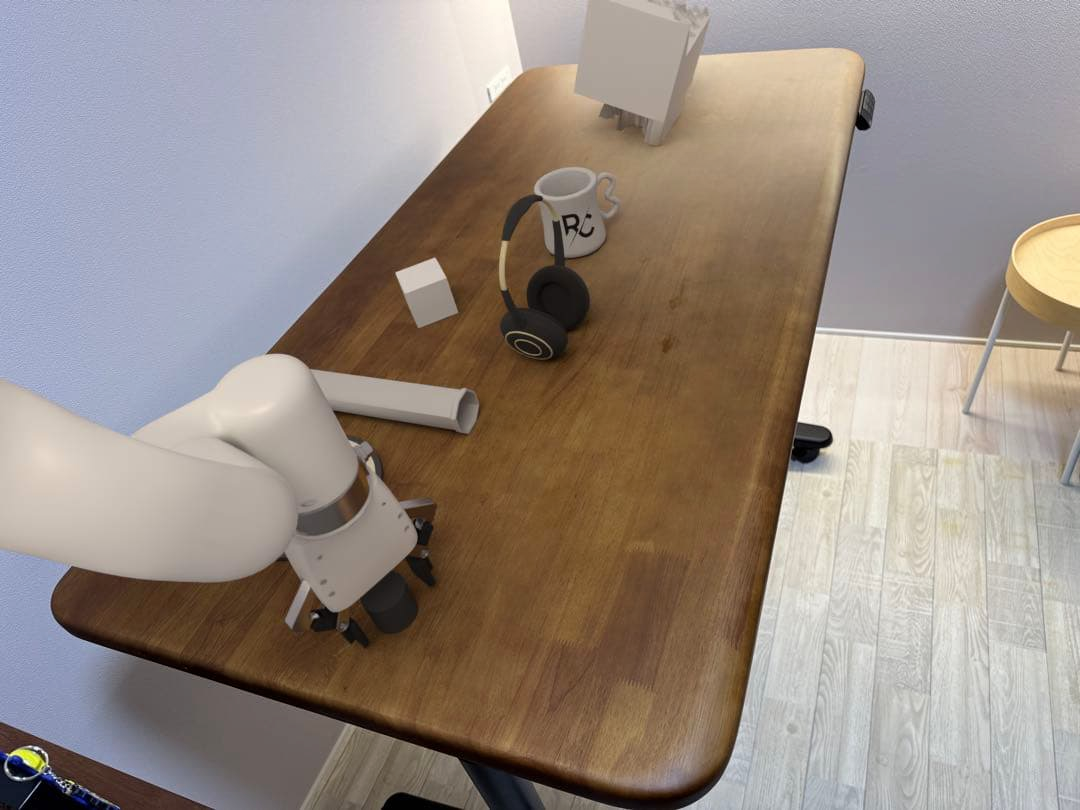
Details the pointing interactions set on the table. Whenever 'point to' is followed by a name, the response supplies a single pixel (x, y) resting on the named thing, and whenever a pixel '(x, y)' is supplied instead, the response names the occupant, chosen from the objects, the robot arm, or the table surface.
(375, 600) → the eye dot
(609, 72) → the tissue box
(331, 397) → the tube
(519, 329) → the headphones
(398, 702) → the table surface
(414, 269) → the white cube
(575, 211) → the mug
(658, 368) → the table surface
